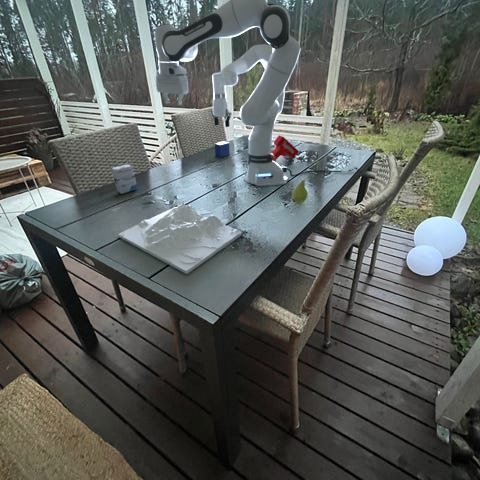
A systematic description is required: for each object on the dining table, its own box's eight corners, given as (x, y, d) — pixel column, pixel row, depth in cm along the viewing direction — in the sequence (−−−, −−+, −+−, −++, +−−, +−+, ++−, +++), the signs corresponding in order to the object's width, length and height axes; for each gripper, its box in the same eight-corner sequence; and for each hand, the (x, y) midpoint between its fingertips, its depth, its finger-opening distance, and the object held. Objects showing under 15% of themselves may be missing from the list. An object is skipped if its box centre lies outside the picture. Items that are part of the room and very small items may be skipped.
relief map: (186, 274, 80) (184, 260, 77) (118, 236, 97) (114, 224, 95) (241, 234, 98) (241, 222, 95) (176, 209, 116) (174, 198, 113)
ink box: (133, 186, 138) (127, 163, 132) (137, 189, 135) (132, 165, 129) (116, 191, 133) (110, 167, 127) (121, 194, 130) (114, 170, 124)
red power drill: (268, 157, 168) (282, 135, 165) (265, 155, 171) (278, 134, 168) (286, 171, 180) (299, 151, 177) (282, 169, 183) (295, 150, 180)
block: (215, 156, 185) (214, 143, 180) (223, 153, 190) (223, 141, 186) (221, 157, 182) (220, 144, 177) (229, 154, 187) (229, 142, 183)
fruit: (288, 200, 123) (290, 174, 116) (302, 197, 125) (305, 172, 119) (296, 206, 118) (299, 179, 111) (310, 203, 120) (314, 177, 114)
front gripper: (150, 70, 126) (155, 103, 134) (177, 70, 115) (181, 106, 123) (161, 69, 130) (166, 101, 138) (189, 69, 119) (192, 104, 127)
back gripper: (205, 96, 169) (208, 125, 179) (225, 97, 159) (227, 128, 169) (214, 95, 174) (216, 123, 183) (234, 96, 164) (235, 126, 174)
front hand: (173, 103), depth 130 cm, fingers open, 8 cm apart
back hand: (222, 125), depth 176 cm, fingers open, 9 cm apart
